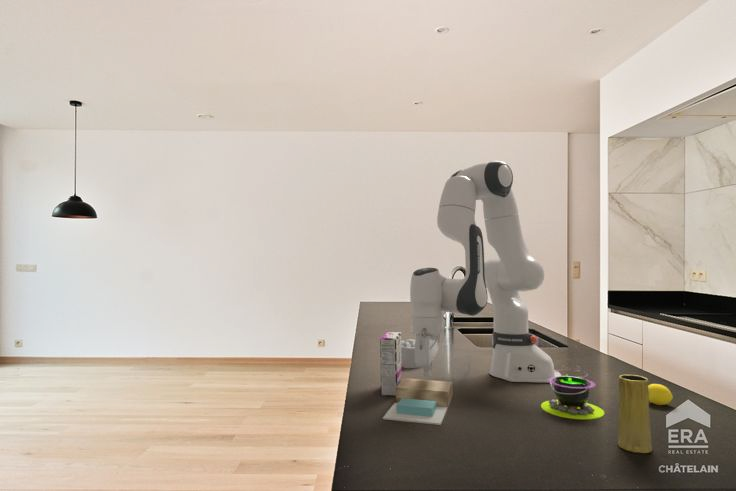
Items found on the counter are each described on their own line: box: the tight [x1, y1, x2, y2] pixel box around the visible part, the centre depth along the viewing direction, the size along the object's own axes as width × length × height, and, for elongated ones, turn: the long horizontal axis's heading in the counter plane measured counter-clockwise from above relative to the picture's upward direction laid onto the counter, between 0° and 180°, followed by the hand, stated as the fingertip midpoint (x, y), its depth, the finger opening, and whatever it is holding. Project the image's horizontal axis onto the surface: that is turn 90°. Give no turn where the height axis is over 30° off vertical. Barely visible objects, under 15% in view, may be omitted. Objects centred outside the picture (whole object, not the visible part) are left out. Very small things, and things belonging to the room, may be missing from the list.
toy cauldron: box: [540, 365, 605, 421], centre depth 119 cm, size 15×15×11 cm
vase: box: [617, 374, 653, 454], centre depth 95 cm, size 6×6×14 cm
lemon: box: [648, 383, 674, 406], centre depth 122 cm, size 7×5×5 cm
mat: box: [382, 402, 448, 426], centre depth 116 cm, size 14×12×1 cm
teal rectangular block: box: [396, 398, 436, 417], centre depth 116 cm, size 9×6×2 cm, turn 73°
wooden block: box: [395, 377, 454, 408], centre depth 128 cm, size 14×10×4 cm
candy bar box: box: [379, 331, 403, 397], centre depth 136 cm, size 11×5×16 cm, turn 168°
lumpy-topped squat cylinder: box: [401, 338, 420, 369], centre depth 169 cm, size 10×13×9 cm
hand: (427, 375), depth 129 cm, fingers closed
